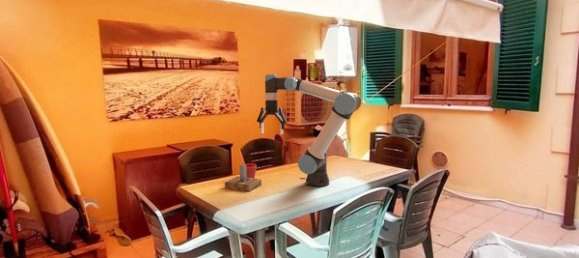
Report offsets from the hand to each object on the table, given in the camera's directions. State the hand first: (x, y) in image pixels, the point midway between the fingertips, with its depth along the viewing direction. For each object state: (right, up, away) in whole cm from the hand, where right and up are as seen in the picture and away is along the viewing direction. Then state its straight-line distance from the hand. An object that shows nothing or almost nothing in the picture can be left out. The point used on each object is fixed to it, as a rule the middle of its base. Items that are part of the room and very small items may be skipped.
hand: (271, 133), depth 215 cm
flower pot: (-17, -31, +18) cm, 39 cm away
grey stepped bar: (-18, -33, +1) cm, 38 cm away
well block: (-18, -33, +1) cm, 38 cm away
